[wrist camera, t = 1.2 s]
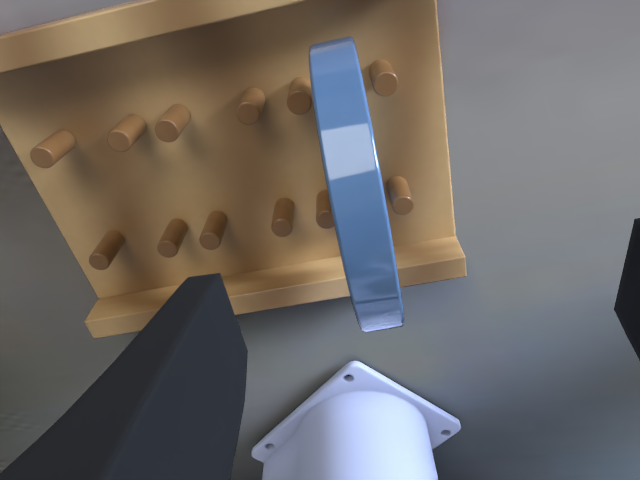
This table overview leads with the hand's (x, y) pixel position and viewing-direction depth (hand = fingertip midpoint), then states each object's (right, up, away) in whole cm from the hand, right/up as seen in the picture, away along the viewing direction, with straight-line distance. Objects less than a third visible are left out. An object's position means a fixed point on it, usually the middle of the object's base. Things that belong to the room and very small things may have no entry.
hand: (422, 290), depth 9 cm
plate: (-1, +5, +9) cm, 10 cm away
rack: (-5, +4, +11) cm, 12 cm away
